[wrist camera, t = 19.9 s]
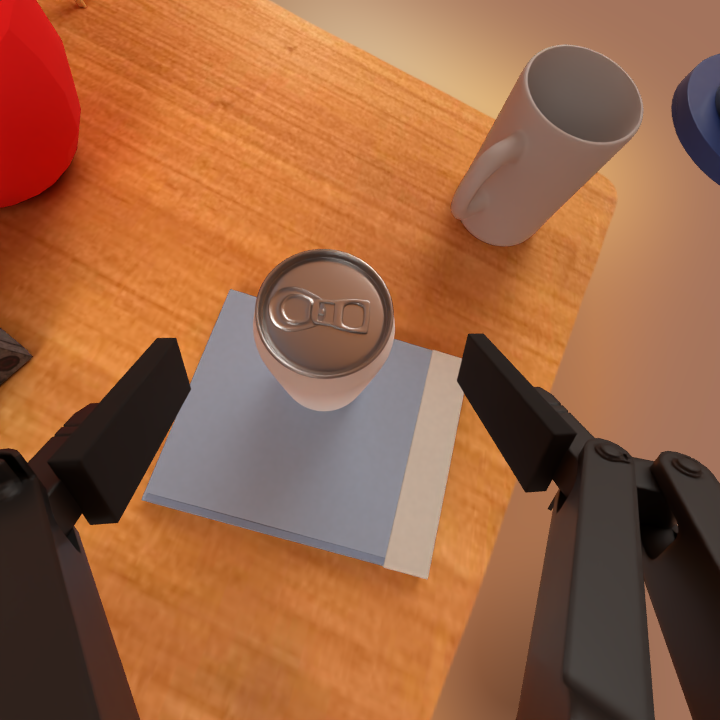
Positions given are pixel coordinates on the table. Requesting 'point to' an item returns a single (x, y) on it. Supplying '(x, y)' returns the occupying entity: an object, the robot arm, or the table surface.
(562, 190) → the mug
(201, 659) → the table surface
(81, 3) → the giraffe
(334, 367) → the can
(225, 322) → the blue flat rectangular slab
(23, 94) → the vase
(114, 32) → the table surface
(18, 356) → the camera
